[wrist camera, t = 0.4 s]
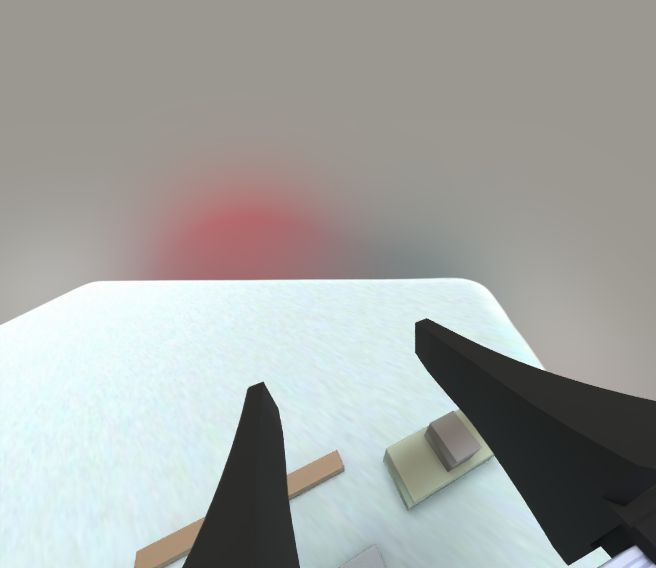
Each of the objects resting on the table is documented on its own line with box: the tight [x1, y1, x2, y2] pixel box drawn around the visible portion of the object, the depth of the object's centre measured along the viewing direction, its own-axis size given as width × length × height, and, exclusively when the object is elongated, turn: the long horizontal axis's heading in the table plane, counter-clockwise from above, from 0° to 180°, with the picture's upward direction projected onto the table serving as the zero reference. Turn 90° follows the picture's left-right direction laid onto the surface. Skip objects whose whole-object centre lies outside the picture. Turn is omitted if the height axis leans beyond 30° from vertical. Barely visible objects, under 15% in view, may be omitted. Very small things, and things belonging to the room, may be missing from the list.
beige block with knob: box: [383, 409, 495, 510], centre depth 22 cm, size 4×10×7 cm, turn 112°
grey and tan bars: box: [134, 450, 385, 568], centre depth 18 cm, size 9×18×5 cm, turn 112°
